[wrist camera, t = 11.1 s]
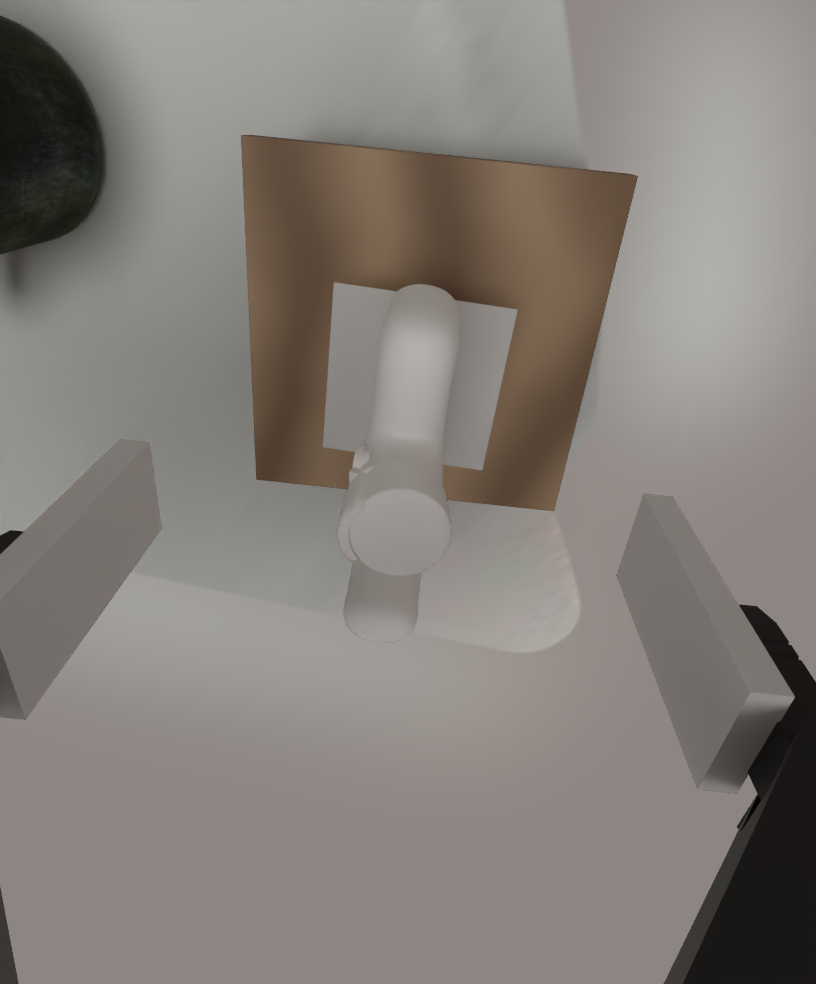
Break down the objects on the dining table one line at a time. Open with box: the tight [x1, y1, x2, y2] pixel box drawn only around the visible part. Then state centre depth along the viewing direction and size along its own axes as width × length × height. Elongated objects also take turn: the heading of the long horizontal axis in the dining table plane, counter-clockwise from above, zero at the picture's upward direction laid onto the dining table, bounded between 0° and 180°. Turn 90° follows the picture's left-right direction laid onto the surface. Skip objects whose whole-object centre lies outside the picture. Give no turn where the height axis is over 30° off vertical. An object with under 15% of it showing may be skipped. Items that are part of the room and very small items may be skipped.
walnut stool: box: [241, 135, 638, 511], centre depth 32 cm, size 16×16×8 cm
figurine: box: [323, 282, 518, 643], centre depth 22 cm, size 7×9×15 cm
